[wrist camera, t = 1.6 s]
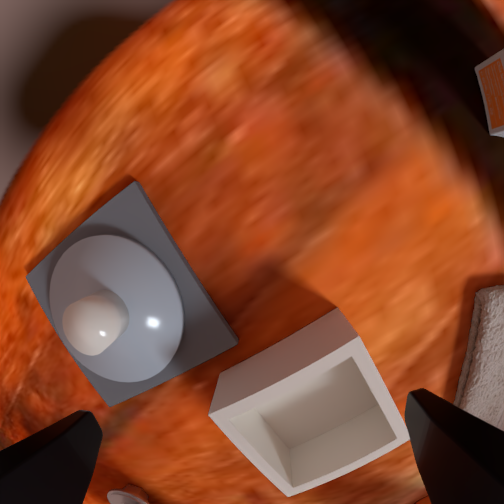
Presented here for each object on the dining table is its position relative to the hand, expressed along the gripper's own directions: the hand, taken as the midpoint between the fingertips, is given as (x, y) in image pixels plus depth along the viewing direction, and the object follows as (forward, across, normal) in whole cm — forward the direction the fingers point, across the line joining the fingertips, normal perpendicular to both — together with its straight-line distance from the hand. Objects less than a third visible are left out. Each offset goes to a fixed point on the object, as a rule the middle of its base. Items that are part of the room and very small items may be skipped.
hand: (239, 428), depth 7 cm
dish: (+12, -2, +8) cm, 15 cm away
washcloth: (+13, -20, +13) cm, 27 cm away
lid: (+11, +10, +1) cm, 15 cm away
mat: (+12, +10, +1) cm, 16 cm away
